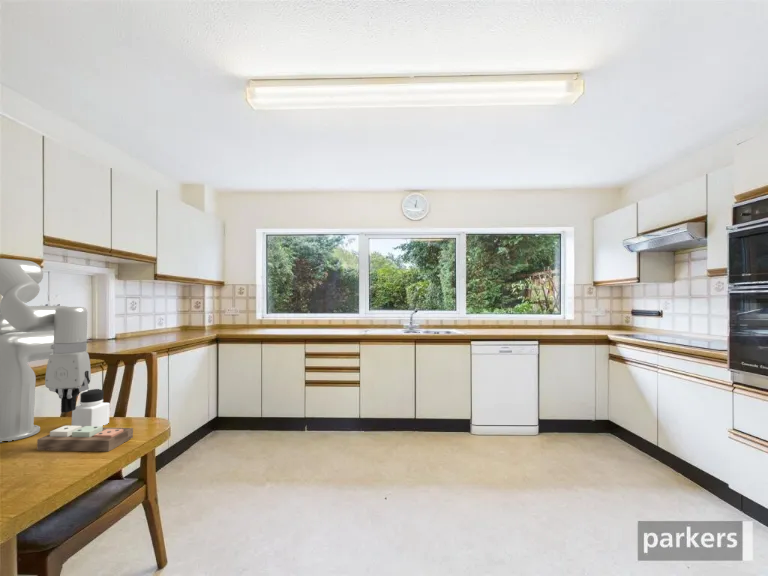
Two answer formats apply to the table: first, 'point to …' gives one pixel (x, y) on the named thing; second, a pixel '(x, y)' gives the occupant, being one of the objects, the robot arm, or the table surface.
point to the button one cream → (64, 431)
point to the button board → (84, 442)
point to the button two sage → (87, 431)
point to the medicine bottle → (91, 409)
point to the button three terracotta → (109, 433)
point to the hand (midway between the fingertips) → (68, 410)
